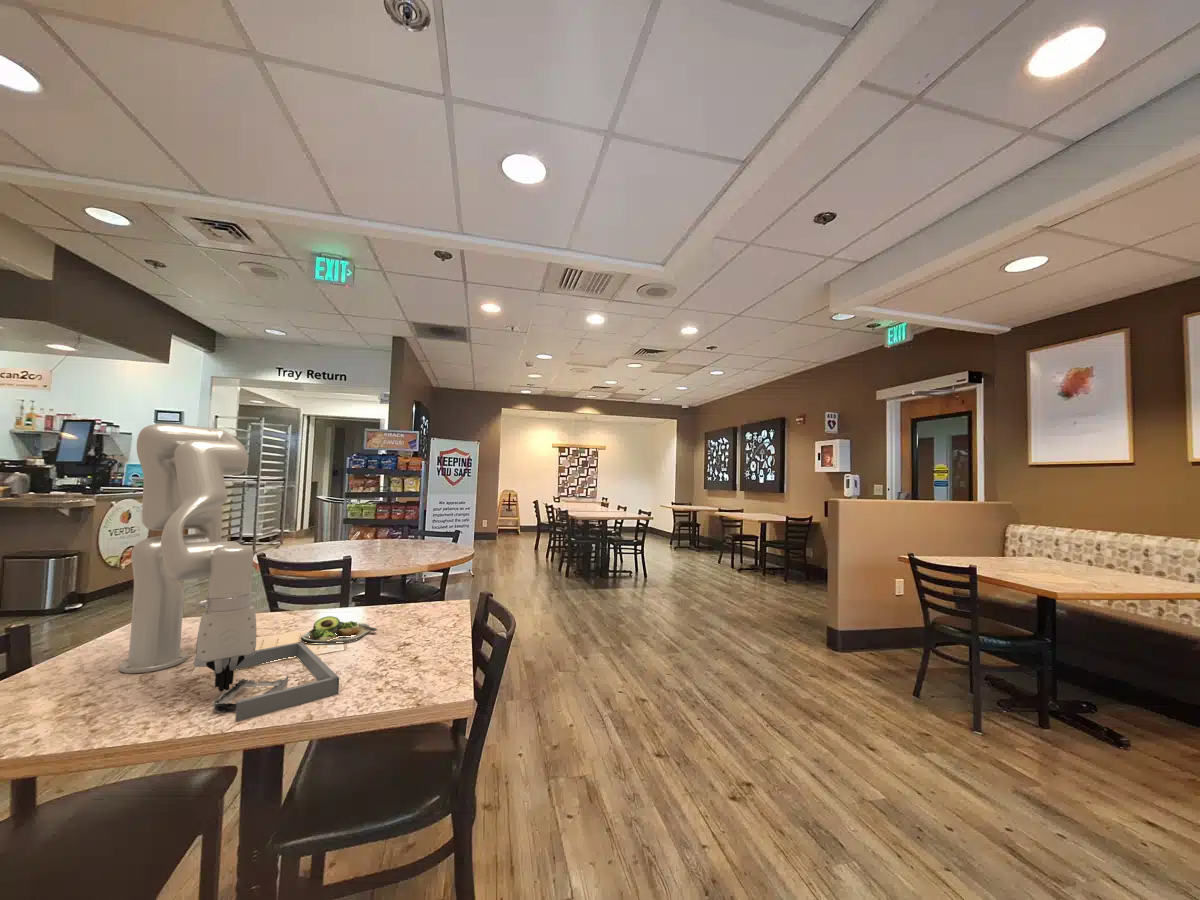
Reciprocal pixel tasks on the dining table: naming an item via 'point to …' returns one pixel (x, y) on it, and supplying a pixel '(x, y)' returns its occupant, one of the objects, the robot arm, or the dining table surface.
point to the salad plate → (335, 630)
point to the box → (289, 696)
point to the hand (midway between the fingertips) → (223, 688)
